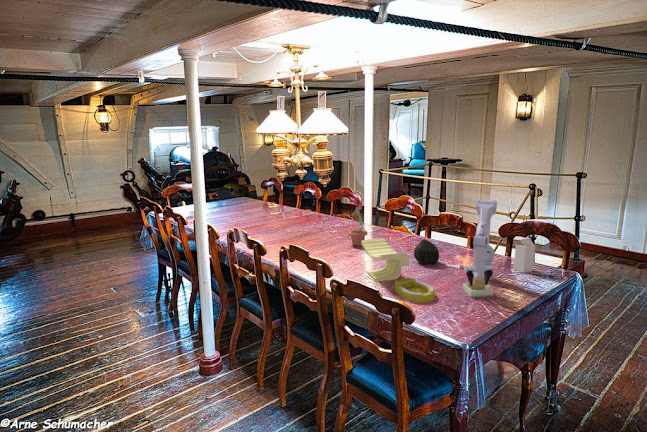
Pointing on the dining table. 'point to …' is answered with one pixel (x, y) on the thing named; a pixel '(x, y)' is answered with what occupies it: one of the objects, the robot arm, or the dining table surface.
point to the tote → (478, 291)
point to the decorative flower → (358, 234)
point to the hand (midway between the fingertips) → (478, 284)
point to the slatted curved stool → (383, 251)
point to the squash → (426, 252)
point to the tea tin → (478, 283)
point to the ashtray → (414, 290)
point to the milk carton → (524, 255)
